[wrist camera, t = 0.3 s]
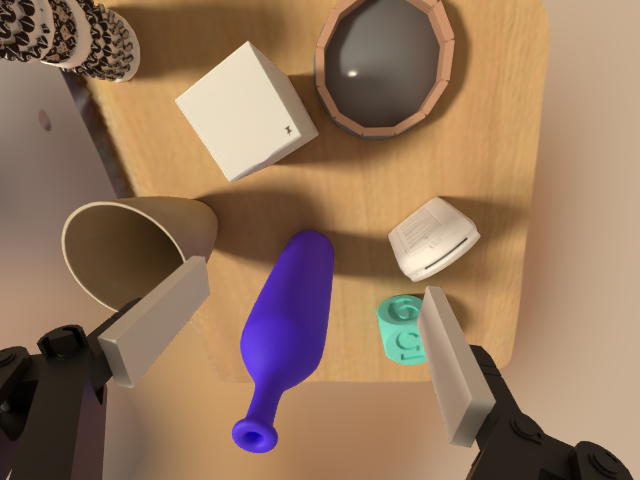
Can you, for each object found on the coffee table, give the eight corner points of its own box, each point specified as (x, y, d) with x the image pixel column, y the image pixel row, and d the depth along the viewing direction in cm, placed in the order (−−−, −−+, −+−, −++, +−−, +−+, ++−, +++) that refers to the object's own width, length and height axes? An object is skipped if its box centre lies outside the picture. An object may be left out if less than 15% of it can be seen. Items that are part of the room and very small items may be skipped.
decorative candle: (139, 97, 39) (-172, 44, 15) (76, 68, 38) (-347, -32, 15) (148, 24, 35) (-232, -184, 12) (79, -9, 34) (-464, -296, 11)
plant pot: (138, 192, 44) (33, 223, 29) (217, 165, 41) (145, 183, 26) (180, 270, 49) (109, 329, 34) (254, 250, 46) (210, 306, 31)
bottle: (281, 231, 44) (173, 397, 17) (331, 225, 43) (303, 392, 15) (291, 275, 47) (213, 478, 19) (338, 270, 46) (325, 479, 18)
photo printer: (399, 253, 44) (418, 295, 32) (382, 235, 43) (395, 272, 32) (454, 211, 41) (496, 242, 29) (437, 191, 40) (473, 214, 28)
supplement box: (287, 72, 36) (249, 34, 22) (320, 134, 38) (306, 136, 24) (234, 110, 38) (170, 98, 24) (269, 167, 41) (229, 185, 27)
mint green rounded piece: (383, 334, 50) (389, 369, 43) (374, 299, 48) (379, 329, 40) (427, 327, 49) (441, 362, 41) (420, 290, 46) (434, 320, 39)
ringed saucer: (312, -10, 32) (309, -23, 30) (459, -21, 31) (470, -36, 28) (316, 140, 39) (314, 141, 36) (438, 137, 37) (445, 138, 34)
